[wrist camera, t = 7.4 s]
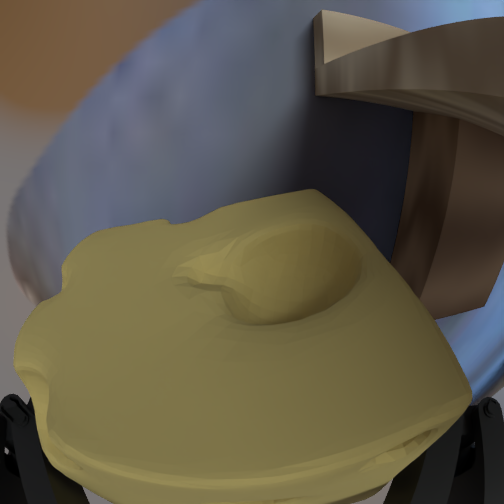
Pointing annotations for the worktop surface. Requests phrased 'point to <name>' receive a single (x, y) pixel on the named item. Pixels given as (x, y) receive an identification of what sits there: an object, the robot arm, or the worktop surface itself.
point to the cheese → (237, 360)
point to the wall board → (434, 143)
